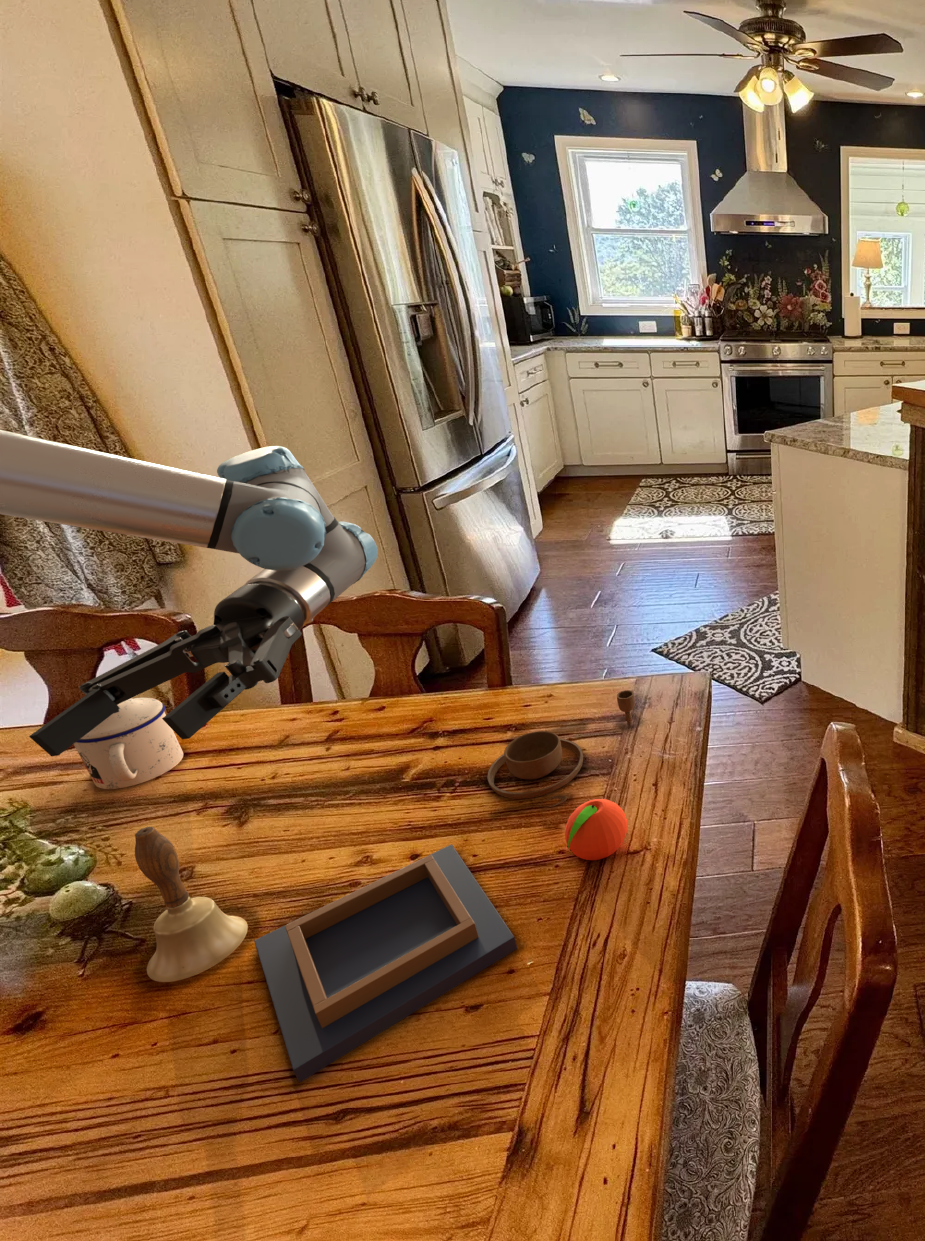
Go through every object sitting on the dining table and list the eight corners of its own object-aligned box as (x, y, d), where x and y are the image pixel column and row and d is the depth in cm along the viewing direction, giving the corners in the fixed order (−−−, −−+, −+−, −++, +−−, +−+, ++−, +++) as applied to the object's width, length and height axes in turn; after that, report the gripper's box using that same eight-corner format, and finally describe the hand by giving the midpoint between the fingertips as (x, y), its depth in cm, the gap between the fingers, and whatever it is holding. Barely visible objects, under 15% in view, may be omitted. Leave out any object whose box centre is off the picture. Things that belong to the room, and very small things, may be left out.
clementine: (598, 887, 81) (590, 840, 78) (549, 870, 83) (539, 823, 80) (642, 838, 88) (636, 793, 85) (596, 824, 89) (588, 779, 87)
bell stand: (262, 957, 71) (247, 925, 70) (456, 859, 84) (447, 830, 82) (302, 1088, 60) (285, 1055, 58) (518, 954, 73) (510, 922, 71)
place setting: (494, 746, 103) (486, 712, 101) (638, 718, 110) (633, 686, 108) (484, 827, 88) (475, 790, 86) (650, 788, 96) (646, 753, 93)
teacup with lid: (99, 767, 96) (62, 695, 92) (189, 743, 102) (158, 673, 97) (85, 817, 88) (43, 741, 83) (184, 787, 93) (150, 714, 89)
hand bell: (250, 904, 77) (197, 788, 71) (260, 954, 72) (203, 833, 65) (144, 950, 72) (77, 829, 65) (146, 1007, 66) (72, 882, 60)
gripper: (387, 618, 85) (257, 749, 67) (197, 645, 87) (21, 779, 69) (352, 566, 81) (204, 691, 63) (154, 595, 83) (-44, 724, 65)
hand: (108, 737), depth 66 cm, fingers open, 13 cm apart
